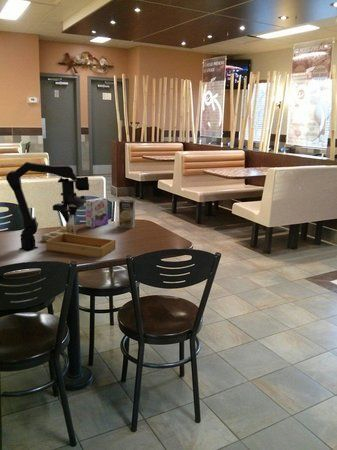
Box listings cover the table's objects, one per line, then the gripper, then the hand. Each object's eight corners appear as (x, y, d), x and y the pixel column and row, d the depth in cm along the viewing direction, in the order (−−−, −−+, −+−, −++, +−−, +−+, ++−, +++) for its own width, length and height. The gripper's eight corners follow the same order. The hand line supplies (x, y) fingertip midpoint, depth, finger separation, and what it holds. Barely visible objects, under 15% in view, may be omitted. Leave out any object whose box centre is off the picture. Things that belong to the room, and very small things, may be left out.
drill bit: (71, 233, 204) (70, 215, 202) (64, 232, 206) (63, 215, 204) (76, 231, 208) (75, 214, 206) (69, 230, 209) (68, 213, 207)
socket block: (56, 243, 213) (56, 237, 213) (42, 240, 217) (41, 235, 217) (75, 235, 227) (75, 230, 226) (61, 233, 231) (61, 228, 231)
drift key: (67, 236, 225) (67, 228, 224) (60, 235, 227) (60, 226, 226) (69, 236, 226) (69, 227, 225) (62, 234, 228) (62, 226, 227)
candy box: (92, 228, 245) (91, 201, 241) (85, 226, 248) (84, 200, 244) (108, 223, 255) (108, 198, 251) (102, 222, 259) (101, 197, 255)
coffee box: (118, 227, 247) (118, 201, 243) (120, 225, 253) (120, 199, 249) (133, 228, 246) (133, 202, 242) (135, 225, 252) (135, 200, 248)
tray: (115, 249, 205) (115, 239, 204) (101, 259, 191) (100, 247, 190) (63, 243, 215) (63, 232, 214) (46, 251, 201) (45, 240, 200)
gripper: (69, 195, 190) (71, 227, 194) (92, 189, 207) (93, 219, 211) (50, 193, 194) (53, 224, 198) (74, 187, 211) (76, 216, 215)
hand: (69, 221), depth 205 cm, fingers closed on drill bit, 4 cm apart
